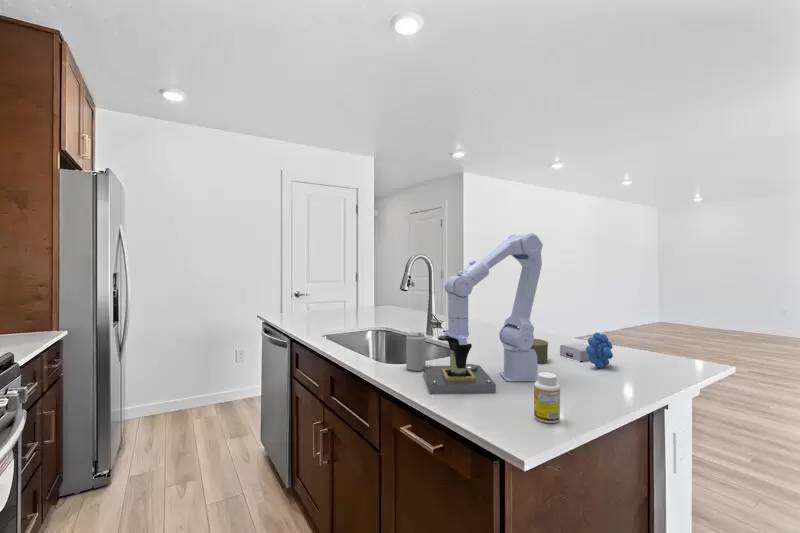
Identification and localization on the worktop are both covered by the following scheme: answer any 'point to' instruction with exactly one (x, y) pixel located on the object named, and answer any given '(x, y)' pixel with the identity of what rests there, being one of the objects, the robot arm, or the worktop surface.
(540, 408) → the supplement bottle
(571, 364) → the worktop surface
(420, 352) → the beverage can
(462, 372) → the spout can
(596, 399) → the worktop surface
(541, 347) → the can
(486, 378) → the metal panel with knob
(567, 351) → the charger
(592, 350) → the grapes
